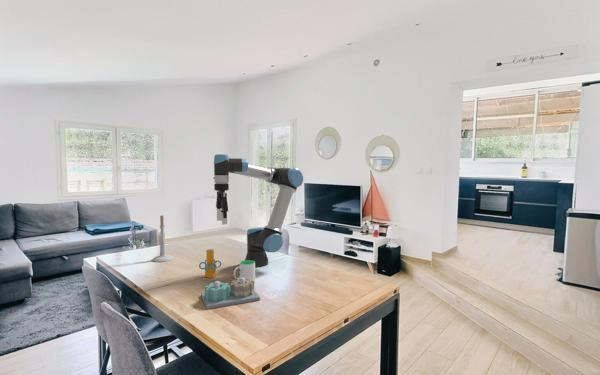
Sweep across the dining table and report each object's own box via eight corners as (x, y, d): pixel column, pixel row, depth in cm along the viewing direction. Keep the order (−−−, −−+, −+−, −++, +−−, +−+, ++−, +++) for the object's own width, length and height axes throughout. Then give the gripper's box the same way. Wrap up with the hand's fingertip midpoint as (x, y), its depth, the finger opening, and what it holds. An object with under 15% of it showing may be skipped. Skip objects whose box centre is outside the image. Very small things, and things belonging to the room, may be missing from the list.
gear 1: (226, 290, 161) (226, 280, 161) (232, 298, 151) (232, 288, 151) (203, 294, 157) (203, 284, 156) (207, 303, 147) (207, 291, 146)
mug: (237, 286, 171) (237, 266, 171) (230, 282, 178) (230, 263, 177) (258, 281, 179) (257, 262, 178) (250, 277, 185) (250, 259, 184)
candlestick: (177, 258, 223) (176, 214, 222) (160, 263, 213) (159, 216, 211) (165, 256, 230) (164, 213, 228) (148, 260, 219) (147, 215, 218)
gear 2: (244, 286, 167) (244, 277, 166) (258, 292, 159) (258, 282, 159) (226, 292, 159) (226, 282, 158) (240, 299, 151) (240, 288, 151)
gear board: (249, 288, 169) (249, 271, 169) (259, 300, 154) (259, 282, 153) (201, 295, 159) (200, 278, 159) (206, 309, 144) (206, 290, 143)
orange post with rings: (214, 280, 180) (213, 253, 180) (196, 279, 182) (196, 252, 182) (223, 273, 192) (223, 248, 191) (207, 272, 194) (206, 247, 194)
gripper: (210, 182, 188) (210, 219, 189) (219, 184, 165) (219, 226, 167) (223, 182, 191) (224, 218, 192) (233, 184, 168) (234, 225, 170)
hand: (222, 222), depth 179 cm, fingers open, 13 cm apart
